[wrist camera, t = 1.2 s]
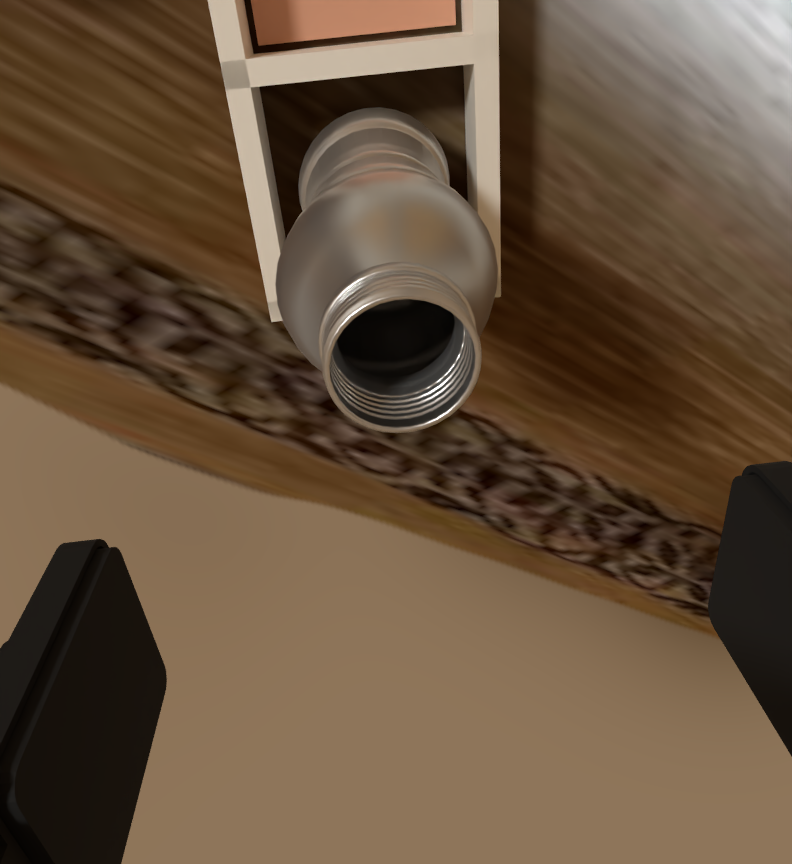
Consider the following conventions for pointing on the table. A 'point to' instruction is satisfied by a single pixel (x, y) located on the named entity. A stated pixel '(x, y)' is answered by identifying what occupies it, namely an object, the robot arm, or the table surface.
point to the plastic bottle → (386, 273)
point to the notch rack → (348, 16)
